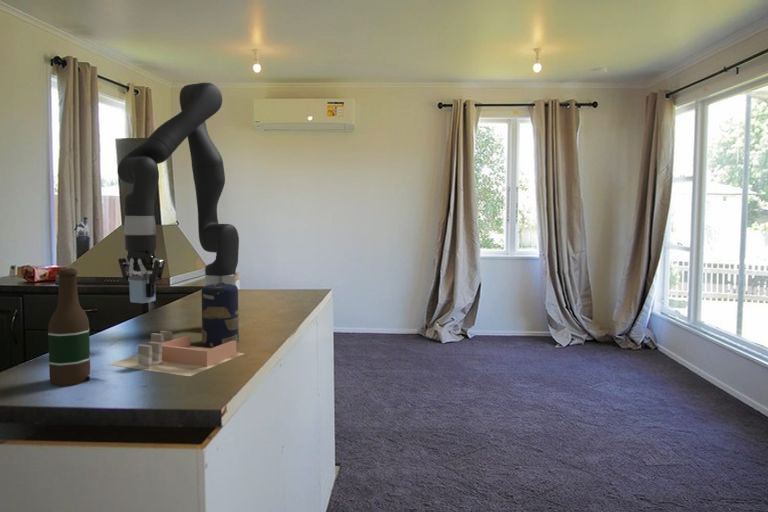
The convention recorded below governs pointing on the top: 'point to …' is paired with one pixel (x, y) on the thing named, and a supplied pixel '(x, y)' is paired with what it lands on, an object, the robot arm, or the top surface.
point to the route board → (152, 358)
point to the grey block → (139, 289)
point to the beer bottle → (68, 335)
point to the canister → (219, 314)
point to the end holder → (196, 352)
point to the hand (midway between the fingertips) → (142, 296)
